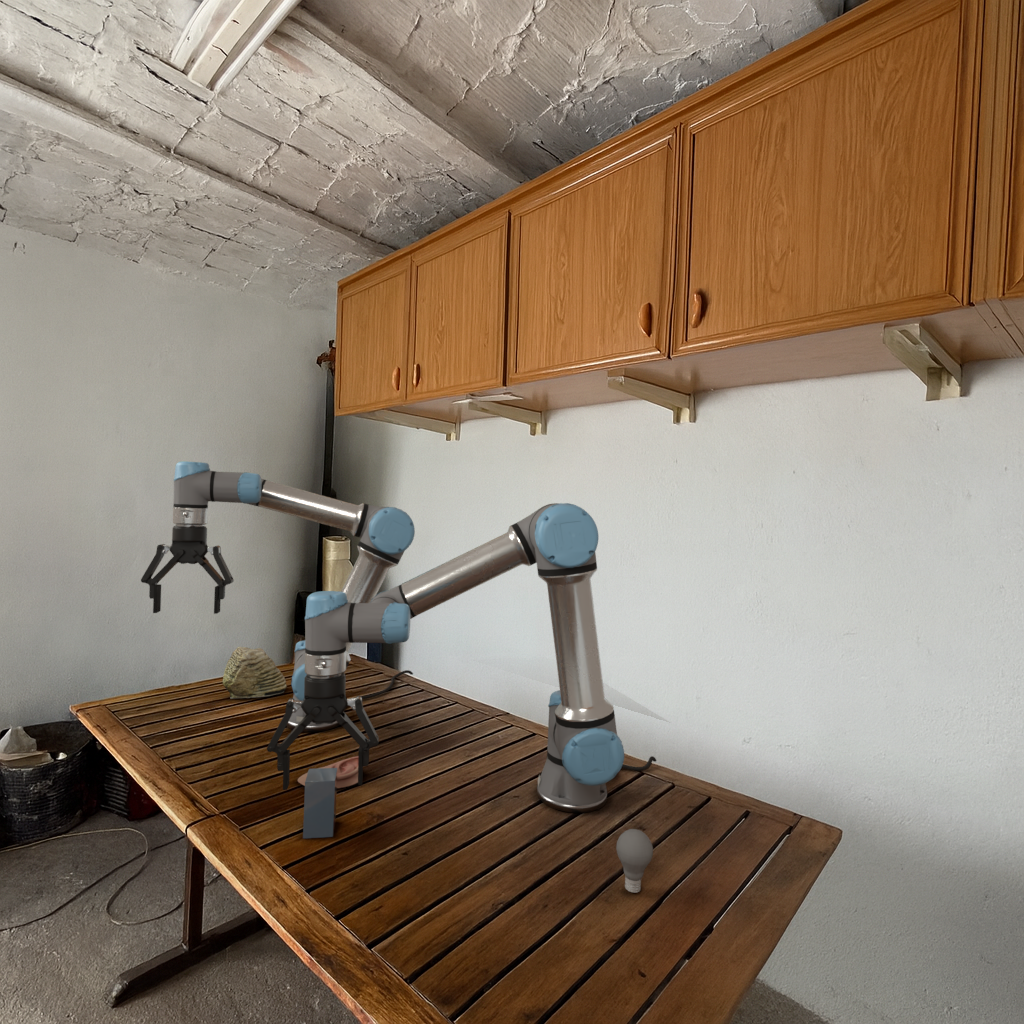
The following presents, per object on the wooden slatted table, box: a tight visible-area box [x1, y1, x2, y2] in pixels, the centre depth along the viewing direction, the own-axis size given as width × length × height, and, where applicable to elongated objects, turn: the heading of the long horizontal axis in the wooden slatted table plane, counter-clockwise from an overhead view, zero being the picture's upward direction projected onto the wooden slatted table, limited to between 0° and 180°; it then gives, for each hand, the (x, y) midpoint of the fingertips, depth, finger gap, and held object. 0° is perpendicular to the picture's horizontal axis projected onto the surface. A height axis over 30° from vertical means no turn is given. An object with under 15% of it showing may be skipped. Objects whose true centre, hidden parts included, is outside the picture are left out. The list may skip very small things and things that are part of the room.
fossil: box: [222, 646, 288, 699], centre depth 198 cm, size 9×18×15 cm, turn 132°
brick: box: [302, 767, 338, 839], centre depth 121 cm, size 6×5×11 cm
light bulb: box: [615, 828, 654, 894], centre depth 106 cm, size 6×6×10 cm
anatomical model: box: [297, 755, 358, 789], centre depth 142 cm, size 13×4×12 cm
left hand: (187, 612), depth 154 cm, fingers open, 13 cm apart
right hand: (323, 784), depth 121 cm, fingers open, 13 cm apart
